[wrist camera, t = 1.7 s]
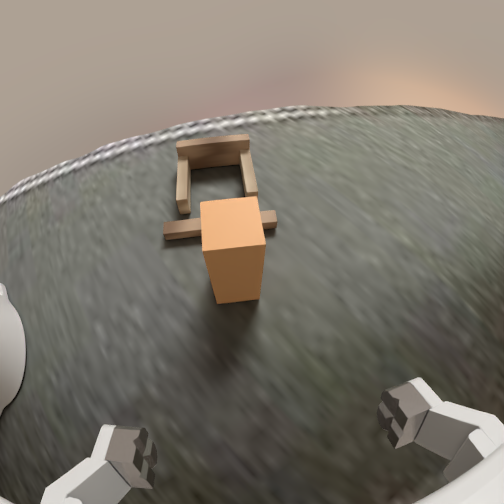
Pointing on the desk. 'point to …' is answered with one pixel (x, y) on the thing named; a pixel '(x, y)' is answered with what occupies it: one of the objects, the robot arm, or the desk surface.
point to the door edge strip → (194, 226)
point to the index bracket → (212, 163)
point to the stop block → (233, 248)
